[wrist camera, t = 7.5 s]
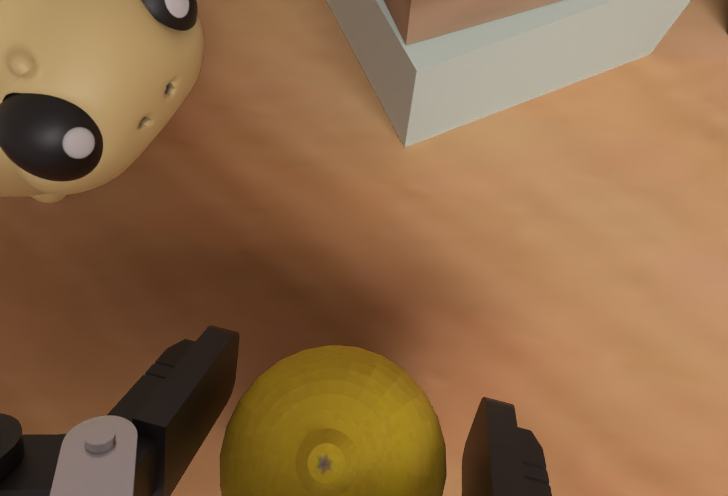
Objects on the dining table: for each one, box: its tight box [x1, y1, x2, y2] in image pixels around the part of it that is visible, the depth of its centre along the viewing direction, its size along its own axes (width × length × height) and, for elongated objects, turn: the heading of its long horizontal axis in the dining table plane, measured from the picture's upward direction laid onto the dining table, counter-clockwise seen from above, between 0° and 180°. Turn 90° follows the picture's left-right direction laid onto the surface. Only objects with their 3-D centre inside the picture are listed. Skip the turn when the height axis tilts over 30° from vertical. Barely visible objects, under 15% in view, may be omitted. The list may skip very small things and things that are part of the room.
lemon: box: [220, 345, 446, 496], centre depth 13 cm, size 6×6×8 cm
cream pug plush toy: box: [0, 0, 204, 203], centre depth 16 cm, size 10×12×11 cm
